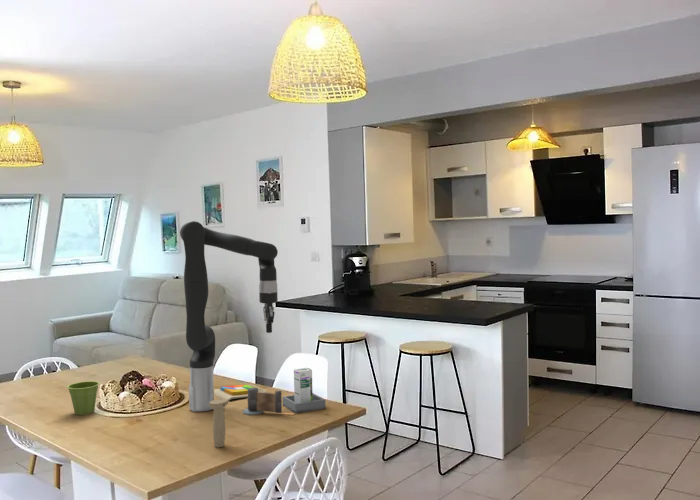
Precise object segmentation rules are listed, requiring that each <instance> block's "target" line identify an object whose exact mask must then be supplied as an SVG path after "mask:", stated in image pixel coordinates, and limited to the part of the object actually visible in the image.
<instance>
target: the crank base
mask: <svg viewBox="0 0 700 500" xmlns="http://www.w3.org/2000/svg"><path fill="white" fill-rule="evenodd" d="M263 413H264V411H258V410H256V411H249V410H248V407H247V408H245V409H243V410H242V414H244V415H246V416H254V415H255V416H256V415H260V414H263ZM283 415H286V416H295V413H294V412H292V413H291V412H283Z"/></svg>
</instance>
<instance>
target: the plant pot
mask: <svg viewBox="0 0 700 500" xmlns="http://www.w3.org/2000/svg"><path fill="white" fill-rule="evenodd" d="M99 385H100V382H99V381H96V380H95V381H94V380H87V381H79V382H75V383H70V384H69V385H66V388H67V389H68V392H69V394H70V398H71V402H72V403H71V404H72V406H73V412H74V414H75V415H80V416H85V415H90V414H92V413H94V412H95V409H96V401H97V394H98V390H99V389H98V388H99Z"/></svg>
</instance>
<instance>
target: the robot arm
mask: <svg viewBox="0 0 700 500" xmlns="http://www.w3.org/2000/svg"><path fill="white" fill-rule="evenodd" d="M179 230H180V231H179V236H180V239H181V240H182V241H183V247H184V254H185V255H184V257H185V261H184V262H185V263H184V271H183V284H184V285H183V286H184V296H185V297H184V298H185V299H184V300H185V309H186V310H185V311H186V325H185V327H186V329H185V340H186V344H187V346H188V347H189V349H190V350H192V356H191V357H190V359H189V384H188V409H190V410H191V412H193V413H194V412H208V411H211V410H214V409H213V408H211V407H210V406H209V402H210V401H213V400H215V395H214V389H215V388H214V387H215V382H214V381H215V380H214V377H215V376H214V361H215V357H216V336H215V331H214V330H213V328H212V327H211V326H209V325H207V324H206V321H205V313H206V312H205V311H206V307H207V302H208V299H209V278H208V270H207V264H206V258H205V257H206V256H205V246H209V247H215V248H219V249H222V250H225V251H228V252H232V253H236V254H240V255H244V256H252V257H254V258H257V260H258V266H259V285H258V289H259V290H258V292H259V296H258V297H259V298H258V300H259V304H263V305H264V306H263V307H262V311H263V318H264V319H263V320H264V323H265V331H266V333H267V334H271V333H272V332H273V323H274V319H275V315H276V314H275V313H276V312H275V307H274V304H276V303H277V302H278V299H279V298H278V297H279V296H278V282H277V279H278V277H277V275H278V274H277V268H276V266H275V259H276V258H277V257H278V254H279V253H278V249H277V246H275V244H273V243H269V242H265V241H260V240H255V239H252V238H249V237H245V236H241V235H237V234H231V233H226V232H222V231H220V232H219V231H216V230H213V229H209V228H207V227H204V225H203V224H202V223H200V222H198V221H196V220H190V221H187V222H185V223H184V224H183V225H182V226H181V227H180V229H179Z"/></svg>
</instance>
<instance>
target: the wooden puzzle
mask: <svg viewBox="0 0 700 500" xmlns="http://www.w3.org/2000/svg"><path fill="white" fill-rule="evenodd" d="M249 388H258V392H267V390H266V389H264V388H261V387H259V386H256V385H254V384H252V383H249V384H239V385H237V384H236V385H235V384H234V385H222V386H220V388H214V397H217V398H218V399H227V400H228V402H230V401H231V400H235V399H245V398H246V399H248V389H249Z"/></svg>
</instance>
